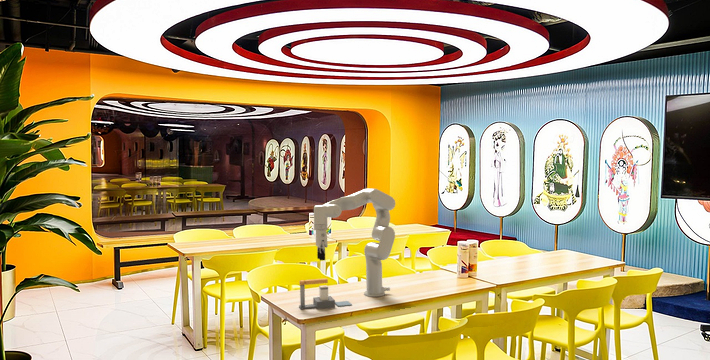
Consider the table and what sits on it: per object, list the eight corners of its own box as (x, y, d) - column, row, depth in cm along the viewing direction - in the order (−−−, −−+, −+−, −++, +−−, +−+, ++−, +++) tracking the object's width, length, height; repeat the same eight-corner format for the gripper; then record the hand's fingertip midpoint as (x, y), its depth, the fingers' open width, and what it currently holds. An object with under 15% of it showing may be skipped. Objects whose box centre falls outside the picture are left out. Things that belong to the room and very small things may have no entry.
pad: (348, 301, 287) (348, 300, 287) (352, 305, 280) (352, 304, 280) (334, 303, 285) (334, 302, 285) (338, 306, 278) (338, 305, 278)
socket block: (330, 303, 286) (330, 280, 285) (335, 307, 276) (334, 284, 276) (298, 306, 280) (298, 283, 280) (301, 310, 271) (301, 287, 271)
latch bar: (326, 281, 281) (326, 278, 281) (327, 283, 278) (327, 279, 278) (299, 284, 277) (299, 280, 277) (300, 285, 274) (300, 281, 274)
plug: (326, 304, 282) (326, 285, 282) (328, 306, 278) (328, 286, 278) (319, 305, 281) (319, 285, 281) (321, 307, 277) (320, 287, 277)
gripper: (330, 228, 276) (331, 261, 277) (323, 225, 293) (324, 256, 293) (317, 229, 274) (318, 262, 275) (311, 226, 291) (311, 257, 291)
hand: (321, 259), depth 284 cm, fingers open, 4 cm apart
